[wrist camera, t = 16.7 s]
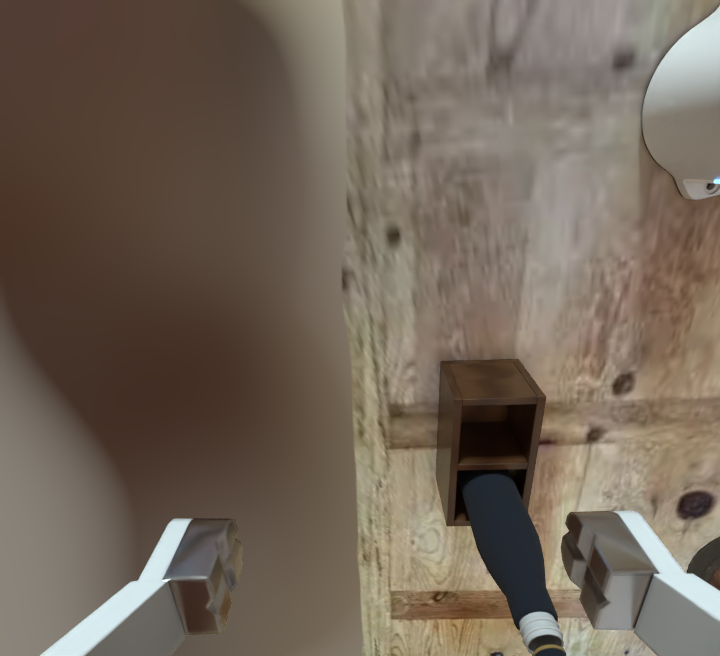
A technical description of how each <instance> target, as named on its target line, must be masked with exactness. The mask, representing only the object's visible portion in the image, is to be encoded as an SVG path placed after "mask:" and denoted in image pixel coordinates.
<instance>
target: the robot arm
mask: <svg viewBox="0 0 720 656" xmlns="http://www.w3.org/2000/svg"><path fill="white" fill-rule="evenodd" d="M642 129H643V135H644V139H645V143H646V146H647V148H648V150H649V152H650V154H651V155H652V157H653V158H654V159H655V161H656V162H657V163H658V164H659V165H660V166H662V167H663V168H664V169H665V170H667V171H668V172H669V173H670V174H671V175H672V176H673V177H674V178H675V181H676V184H677V186H678V189H679V191H680V193H681V195H682V196H683V197H684V198H685V199H688V200H699V199H704V198H708V197H713V196H717V195H720V5H719V7H718V8H717V9H716V11H715V12H714V13H712V14H711V15H710V16H709V17H708V18H706V19H705V20H703V21H702V22H701V23H699V24H698V25H696V26H695V27H693V28H692V29H691V30H690V31H688V32H687V33H686V34H685V35H684V36H682V37H681V38H680V39H679V40H678V41H677V42H676V43H675V45H674V46H673V47H672V48H671V49H670V50H669V52H668V53H667V54H666V55H665V57H664V58H663V60H662V61H661V63H660V64H659V66H658V68H657V69H656V71H655V73H654V75H653V77H652V79H651V82H650V84H649V87H648V89H647V93H646V96H645V100H644V105H643V112H642ZM708 183H710V185H709V187H708V188H706V186H707V184H708ZM565 524H566V526H567V528H568V530H569V532H568V533H567V534H565V535H564V536H563V537H562V543H561V553H562V560H563V564H564V567H565V570H566V572H567V574H568V576H569V579H570V580H571V581H572V582H573V583H574V584H576V585H577V586H578V587H579V588H580V589H582V590H581V594H580V602H581V604H582V606H583V608H584V610H585V612H586V614H587V616H588V618H589V620H590V622H591V624H592V626H593V628H594V629H599V630H634V633H635V634H636V635H637V636H638V637H639V638H640V639H641V640H642V641H643V642H644V643H645V644H646V645H647V646H648V647H649V648H650V649H651V650H652V651H653V652H654V653H655V654H657V655H658V656H720V591H719V590H718V589H716V588H714V587H713V586H711V585H710V584H708V583H707V582H705V581H704V580H702V579H701V578H699V577H698V576H696V575H694V574H693V573H685V572H684V570H683V569H682V568H681V566H680V565H679V564H678V562H677V561H676V560H675V559H674V557H673V556H672V555H671V553H670V552H669V551H668V549H667V548H666V547H665V546H664V544H663V543H662V542H661V540H660V539H659V538H658V536H657V535H656V534H655V533H654V531H653V530H652V529H651V527H650V526H649V525H648V524H647V522H646V521H645V520H644V518H643V517H642V516H641V515H640V514H639V513H638V512H636V511H591V512H570V513H569V514H568V516H567V519H566V523H565ZM237 531H238V527H237V523H236V520H235V519H197V518H196V519H195V518H194V519H173V520H172V521H171V522H170V523H169V524H168V525H167V527H166V529H165V531H164V533H163V534H162V536H161V538H160V540H159V542H158V544H157V546H156V548H155V549H154V551H153V553H152V555H151V557H150V559H149V561H148V563H147V564H146V566H145V568H144V570H143V572H142V574H141V576H140V577H139V580H138V581H132V582H130V583H129V584H127V585H126V586H125V587H124V588H123V589H122V590H120V591H119V592H118V593H116V594H115V595H114V596H113V597H112V598H110V599H109V600H108V601H106V602H105V603H104V604H103V605H102V606H101V607H99V608H98V609H97V610H96V611H94V612H93V613H92V614H90V615H89V616H88V617H87V618H86V619H84V620H83V621H82V622H81V623H79V624H78V625H77V626H76V627H74V628H73V629H72V630H71V631H70V632H68V633H67V634H66V635H65V636H63V637H62V638H61V639H60V640H58V641H57V642H56V643H55V644H54V645H52V646H51V647H50V648H49V649H47V650H46V651H45V652H44V653H43V654H41V655H40V656H171V655H172V653H173V652H174V651H175V650H176V649H177V647H178V646H179V645H180V644H181V643H182V642H183V640H184V639H185V638H186V636H185V635H195V634H218V633H223V631H224V628H225V625H226V622H227V618H228V615H229V611H230V608H231V605H232V602H231V597H230V592H231V591H232V590H233V589H234V588H235V587H236V586H237V585H238V581H239V577H240V574H241V568H242V561H243V557H242V556H243V555H242V545H241V542H240V541H239V540H237V539H236V538H235V537H236V534H237Z"/></svg>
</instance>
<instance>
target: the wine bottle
mask: <svg viewBox="0 0 720 656" xmlns="http://www.w3.org/2000/svg"><path fill="white" fill-rule="evenodd" d="M457 478H458V481H459V485H460V489H461V492H462V496H463V499H464V503H465V506H466V510H467V513H468V517H469V520H470V524H471V527H472V531H473V534H474V538H475V541H476V545H477V548H478V551H479V553H480V555H481V557H482V559H483V561H484V563H485V565H486V567H487V569H488V571H489V573H490V574H491V576H492V577H493V579H494V580H495V582H496V583H497V585H498V586H499V588H500V589H501V590H502V592H503V593H504V595H505V596H506V598H507V602H508V605H509V608H510V611H511V614H512V617H513V620H514V624H515V626H516V627H517V629H518V630H520V634H521V636H522V637H523V643H524V645H525V646H526V647H527V649H528V651H529V652H530V653H531V654H532V656H566V653H565V651H564V649H563V648H562V647H563V644H564V642H563V634H562V632H561V631H560V630H559V625H558V623H557V621H558V616H557V613H556V611H555V608H554V606H553V604H552V601H551V599H550V596H549V594H548V591H547V589H546V583H545V568H544V558H543V553H542V548H541V544H540V540H539V536H538V534H537V532H536V529H535V527H534V525H533V523H532V521H531V518H530V516H529V514H528V512H527V510H526V507H525V505H524V503H523V501H522V498H521V496H520V494H519V492H518V490H517V487H516V485H515V483H514V481H513V479H512V476H511V474H510V472H509V470H508V469H505V470H459V471H457Z"/></svg>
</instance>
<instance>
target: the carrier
mask: <svg viewBox="0 0 720 656" xmlns="http://www.w3.org/2000/svg"><path fill="white" fill-rule="evenodd" d="M545 402H546V396H545V395H544V393H543V392H542V391H541V389H540V388H539V386H538V385H537V384H536V382H535V381H534V380H533V378H532V377H531V376H530V374H529V373H528V372H527V370H526V369H525V367H524V366H523V365H522V363H521V362H520V361H519V359H504V360H469V361H441V364H440V387H439V411H438V434H437V458H436V479H437V484H438V488H439V493H440V498H441V502H442V507H443V512H444V516H445V521H446V525H447V526H471V524H470V520H469V517H468V513H467V510H466V506H465V503H464V499H463V496H462V492H461V489H460V485H459V481H458V478H457V471H459V470H505V469H508V470H509V472H510V474H511V476H512V479H513V481H514V483H515V485H516V487H517V490H518V492H519V494H520V496H521V498H522V501H523V503H524V505H525V507H526V510H527V512H528V507H529V500H530V494H531V488H532V482H533V476H534V470H535V464H536V457H537V451H538V445H539V439H540V433H541V427H542V421H543V414H544V408H545Z"/></svg>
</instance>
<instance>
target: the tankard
mask: <svg viewBox="0 0 720 656" xmlns="http://www.w3.org/2000/svg"><path fill="white" fill-rule="evenodd" d="M687 573H693V574H694V575H696V576H698V577H699V578H701V579H702V580H704V581H705V582H707V583H708V584H710V585H711V586H713V587H714V588H716V589H718V590H719V591H720V537H719V538H717V539H715V540H714V541H712V542H711V543H709V544H707V545H706V546H705V547H704V548H702V549H701V550H700V551H699V552H698V553H697V554H696V556H695V557H694V558H693V560H692V561H691V563H690V565H689V568H688V571H687Z"/></svg>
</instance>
